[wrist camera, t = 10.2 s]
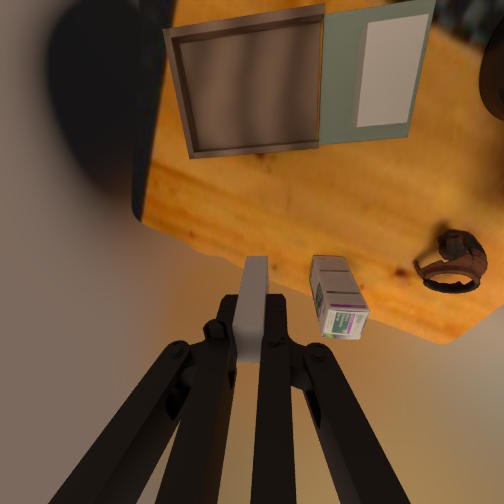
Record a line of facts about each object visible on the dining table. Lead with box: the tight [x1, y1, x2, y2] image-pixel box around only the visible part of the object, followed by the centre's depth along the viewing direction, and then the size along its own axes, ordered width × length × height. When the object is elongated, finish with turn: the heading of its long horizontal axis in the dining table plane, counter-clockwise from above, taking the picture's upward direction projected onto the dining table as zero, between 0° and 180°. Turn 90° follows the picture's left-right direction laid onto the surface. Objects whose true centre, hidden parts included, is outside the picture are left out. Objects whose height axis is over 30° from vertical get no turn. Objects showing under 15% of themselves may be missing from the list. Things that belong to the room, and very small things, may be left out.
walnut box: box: [162, 3, 325, 159], centre depth 31 cm, size 18×14×4 cm
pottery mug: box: [414, 229, 488, 294], centre depth 39 cm, size 12×9×8 cm
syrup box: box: [309, 255, 370, 339], centre depth 39 cm, size 6×6×14 cm
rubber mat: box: [318, 0, 436, 145], centre depth 31 cm, size 12×14×1 cm
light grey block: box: [351, 14, 429, 127], centre depth 29 cm, size 6×10×3 cm, turn 6°
